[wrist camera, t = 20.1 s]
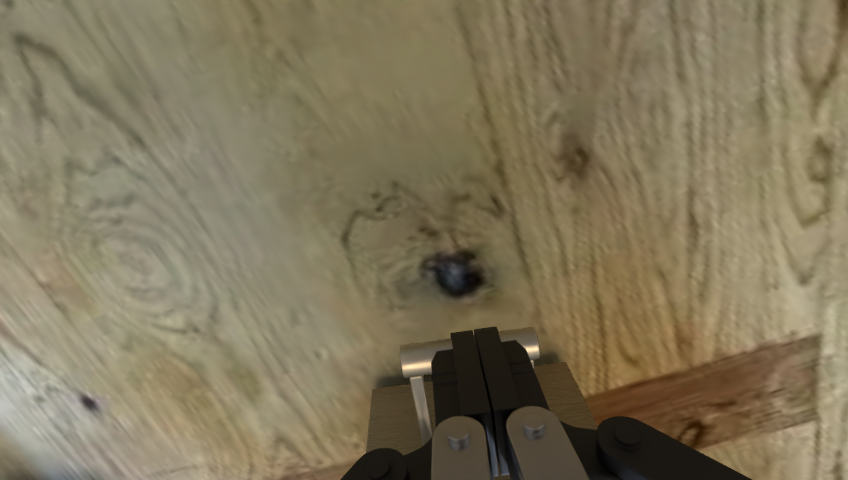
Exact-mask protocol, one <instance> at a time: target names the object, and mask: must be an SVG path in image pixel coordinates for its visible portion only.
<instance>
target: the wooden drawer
mask: <svg viewBox="0 0 848 480" xmlns="http://www.w3.org/2000/svg"><path fill="white" fill-rule="evenodd" d="M498 333H499V336H500V339H501V342H504V341H511V340H516V341H517V342H518V343H520V344H521V345H522V346H523V347H524V348H525V349H526V351H527V353H528V356H529V358H530V361H531V363H532V366H533V368H534V372H535V374H536V376H537V379H538V381H539V384H540V386H541V389H542V391H543V394H544V397H545V399H546V402H547V404H548V407H549V409H550V411H551V412H552V413H554V414H555V415H556V416H557V417H558V419H559V420H560V421H562V422H564V423H566V424H568V425H571V426H574V427H579V428H586V429H593V430H597V428H598V426H597V424H596V422H595V420H594V418H593V416H592V414H591V412H590V410H589V408H588V406H587V404H586V402H585V400H584V397H583V395H582V393H581V391H580V389H579V387H578V385H577V383H576V381H575V379H574V377H573V375H572V373H571V371H570V369H569V367H568V365H567V363H566V362H560V363H553V364H546V365H539V366H534V360H536V359H539V358H540V347H539V341H538V337H537V334H536V331H535V329H534V328H533V327H529V328H522V329H515V330H508V331H501V332H498ZM474 339H475V335H474ZM448 349H453V347H452V340H451V339H445V340H438V341H431V342H424V343H417V344H410V345H403V346H400V362H401V369H402V374H403V376H404V378H409V379H410V384H404V385H397V386H390V387H382V388H375V389H373V390H372V400H371V410H370V420H369V430H368V440H367V450H366V453H368V452H370V451H372V450H374V449H378V448H391V449H395V450H397V451H398V452H400V453H401V454H402V455H403V456H404V455H406V454H409V453H411V452H413V451H415V450H417V449H419V448H421V447H422V446H424V445H425V444H426V443H427V442H428V441H429V440H430V438H431V437H432V435H433V432H434V430H435V411H434V397H433V383H432V381H424V376H423V375H430V374H432V370H431V362H432V360H433V358H434V356H435V354H436V351H441V350H448ZM496 458H497V455H496ZM497 467H498V475H499V476H495V477H494V480H511V479H510V475H501V473H500V469H499V464H498V460H497Z"/></svg>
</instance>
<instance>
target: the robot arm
mask: <svg viewBox="0 0 848 480" xmlns="http://www.w3.org/2000/svg"><path fill="white" fill-rule="evenodd" d="M474 335H475V339H474ZM474 335H473V331H472V330H469V331H462V332H455V333H451V340H452V347H453V349H448V350H441V351H436V354H435V356H434V358H433V360H432V362H431V370H432V383H433V397H434V411H435V430H434V432H433V435H432V437H431V438H430V440H429V441H428V442H427V443H426V444H425V445H424V446H422V447H421V448H419V449H417V450H415V451H413V452H411V453H409V454H406V455H404V456H403V455H402V454H401V453H400V452H398V451H397V450H395V449H391V448H378V449H374V450H372V451H370V452H368V453H366V454H365V455H363V456H362V457H361V458H360V459H359V460H358V461H357V462H356V463H355V464H354V465H353V466H352V468H351V469H350V470H349V471H348V472H347V473H346V474H345V475H344V476H343V477H342V478H341V480H494V477H495V476H499V475H498V467H497V460H498V464H499V469H500V473H501V475H510V479H511V480H752V479H750V478H748V477H746V476H744V475H742V474H740V473H738V472H736V471H735V470H733V469H731V468H729V467H727V466H725V465H723V464H721V463H719V462H717V461H715V460H713V459H712V458H710V457H708V456H706V455H704V454H702V453H700V452H698V451H696V450H694V449H692V448H690V447H689V446H687V445H685V444H683V443H681V442H679V441H677V440H675V439H673V438H671V437H669V436H668V435H666V434H664V433H662V432H660V431H658V430H656V429H654V428H652V427H650V426H648V425H646V424H645V423H643V422H641V421H638V420H636V419H633V418H629V417H621V416H620V417H611V418H608V419H606V420H604V421H603V422H602V423H600V425H599V426H598V428H597V430H593V429H586V428H579V427H574V426H571V425H568V424H566V423H564V422H562V421H560V420H559V419H558V417H557V416H556V415H555V414H554V413H552V412H551V411H550V409H549V407H548V404H547V402H546V399H545V397H544V394H543V391H542V389H541V386H540V384H539V381H538V379H537V376H536V374H535V372H534V368H533V366H532V363H531V361H530V358H529V356H528V353H527V351H526V349H525V348H524V347H523V346H522V345H521V344H520V343H518V342H517V341H516V340H511V341H504V342H501V339H500V336H499V333H498V330H497V327H489V328H482V329H475V330H474ZM496 455H497V458H496Z"/></svg>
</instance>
